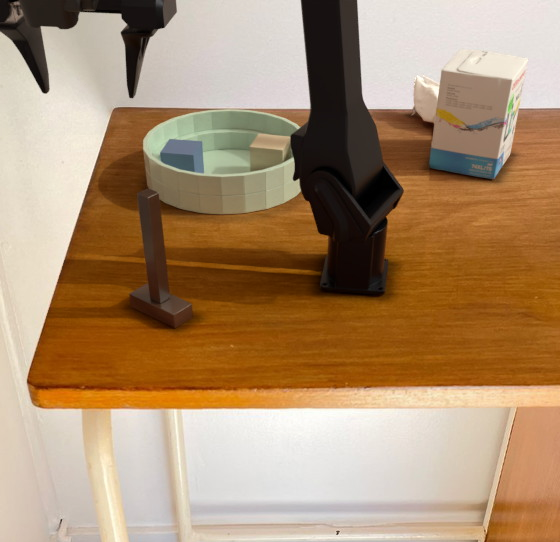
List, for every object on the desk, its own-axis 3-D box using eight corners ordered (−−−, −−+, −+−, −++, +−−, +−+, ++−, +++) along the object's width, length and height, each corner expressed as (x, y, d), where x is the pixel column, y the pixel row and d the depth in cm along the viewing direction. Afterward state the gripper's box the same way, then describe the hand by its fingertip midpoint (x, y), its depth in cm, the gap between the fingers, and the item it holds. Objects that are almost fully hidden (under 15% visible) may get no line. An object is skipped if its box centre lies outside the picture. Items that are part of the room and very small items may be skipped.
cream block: (282, 183, 101) (282, 150, 98) (250, 180, 101) (249, 146, 99) (290, 169, 103) (290, 136, 101) (259, 166, 104) (258, 133, 101)
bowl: (296, 224, 95) (296, 181, 91) (129, 213, 97) (123, 170, 93) (315, 153, 108) (317, 113, 105) (169, 145, 110) (165, 105, 107)
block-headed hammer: (193, 317, 81) (182, 197, 73) (175, 328, 80) (162, 207, 72) (149, 296, 84) (134, 178, 76) (130, 307, 83) (113, 188, 74)
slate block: (196, 188, 100) (193, 155, 97) (163, 186, 100) (159, 152, 97) (204, 174, 102) (202, 141, 100) (172, 171, 103) (169, 138, 100)
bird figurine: (397, 129, 117) (445, 135, 109) (402, 73, 114) (451, 76, 106) (425, 129, 119) (474, 135, 112) (431, 75, 116) (481, 77, 108)
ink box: (494, 181, 102) (513, 79, 94) (426, 168, 105) (439, 68, 97) (511, 154, 108) (530, 55, 100) (447, 143, 110) (460, 46, 102)
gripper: (-76, -69, 72) (-29, 119, 83) (138, -62, 70) (158, 130, 81) (-24, -96, 80) (13, 79, 91) (170, -91, 78) (184, 88, 89)
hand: (89, 94), depth 87 cm, fingers open, 9 cm apart
